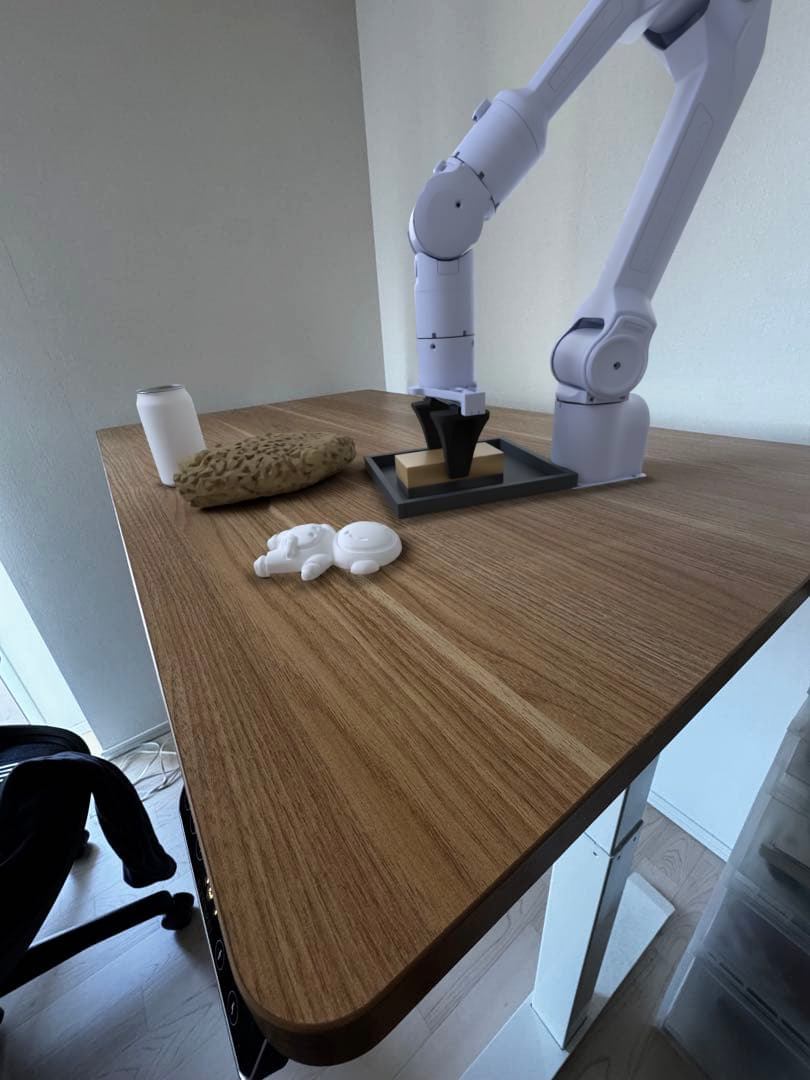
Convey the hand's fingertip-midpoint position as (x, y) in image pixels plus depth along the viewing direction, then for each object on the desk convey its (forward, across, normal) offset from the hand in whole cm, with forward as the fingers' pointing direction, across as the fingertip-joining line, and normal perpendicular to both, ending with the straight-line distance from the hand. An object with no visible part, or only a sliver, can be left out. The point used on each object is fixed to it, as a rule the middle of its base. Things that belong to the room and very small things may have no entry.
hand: (449, 469), depth 50 cm
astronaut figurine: (+2, +11, -15) cm, 19 cm away
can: (+2, -19, -31) cm, 36 cm away
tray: (+2, -2, +2) cm, 4 cm away
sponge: (+2, -9, -19) cm, 21 cm away
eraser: (+2, 0, 0) cm, 2 cm away
